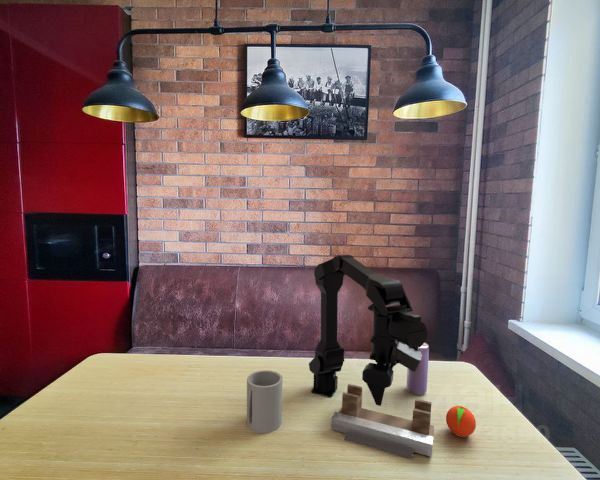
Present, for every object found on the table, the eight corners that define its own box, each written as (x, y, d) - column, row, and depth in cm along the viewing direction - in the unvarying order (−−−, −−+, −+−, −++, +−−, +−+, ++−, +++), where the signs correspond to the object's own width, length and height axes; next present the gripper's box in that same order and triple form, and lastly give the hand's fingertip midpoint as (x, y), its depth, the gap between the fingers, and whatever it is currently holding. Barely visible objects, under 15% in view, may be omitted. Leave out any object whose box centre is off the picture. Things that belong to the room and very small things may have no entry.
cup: (286, 416, 96) (287, 373, 95) (273, 436, 88) (274, 390, 87) (256, 409, 99) (256, 368, 98) (240, 428, 91) (240, 383, 90)
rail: (331, 429, 91) (331, 417, 90) (334, 422, 93) (335, 411, 93) (431, 457, 81) (432, 444, 81) (432, 448, 84) (433, 436, 84)
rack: (337, 417, 96) (338, 393, 95) (344, 406, 102) (345, 382, 101) (432, 442, 87) (434, 415, 86) (434, 428, 92) (435, 402, 92)
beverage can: (427, 397, 108) (430, 349, 106) (407, 394, 109) (409, 347, 107) (425, 387, 114) (427, 341, 112) (405, 384, 115) (407, 339, 113)
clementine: (472, 449, 85) (474, 421, 84) (441, 438, 88) (443, 411, 88) (476, 431, 92) (478, 405, 91) (447, 422, 95) (449, 397, 95)
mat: (344, 439, 87) (344, 438, 87) (351, 423, 94) (351, 422, 94) (412, 459, 81) (412, 457, 81) (415, 440, 88) (415, 439, 87)
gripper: (416, 353, 73) (413, 425, 74) (423, 325, 90) (420, 385, 92) (362, 344, 77) (360, 412, 79) (379, 319, 94) (376, 376, 96)
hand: (382, 395), depth 86 cm, fingers open, 9 cm apart
